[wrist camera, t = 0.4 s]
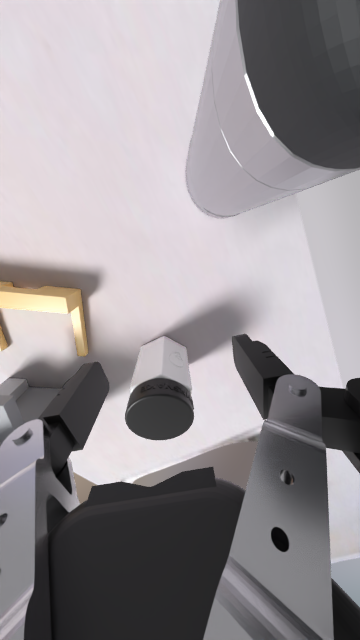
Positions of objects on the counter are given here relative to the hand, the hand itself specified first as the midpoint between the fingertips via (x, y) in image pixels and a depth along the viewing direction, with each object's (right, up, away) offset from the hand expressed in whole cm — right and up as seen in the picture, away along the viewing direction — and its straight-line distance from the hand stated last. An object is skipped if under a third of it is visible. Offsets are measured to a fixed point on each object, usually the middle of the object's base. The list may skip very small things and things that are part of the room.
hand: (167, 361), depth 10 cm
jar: (-2, -4, +21) cm, 21 cm away
